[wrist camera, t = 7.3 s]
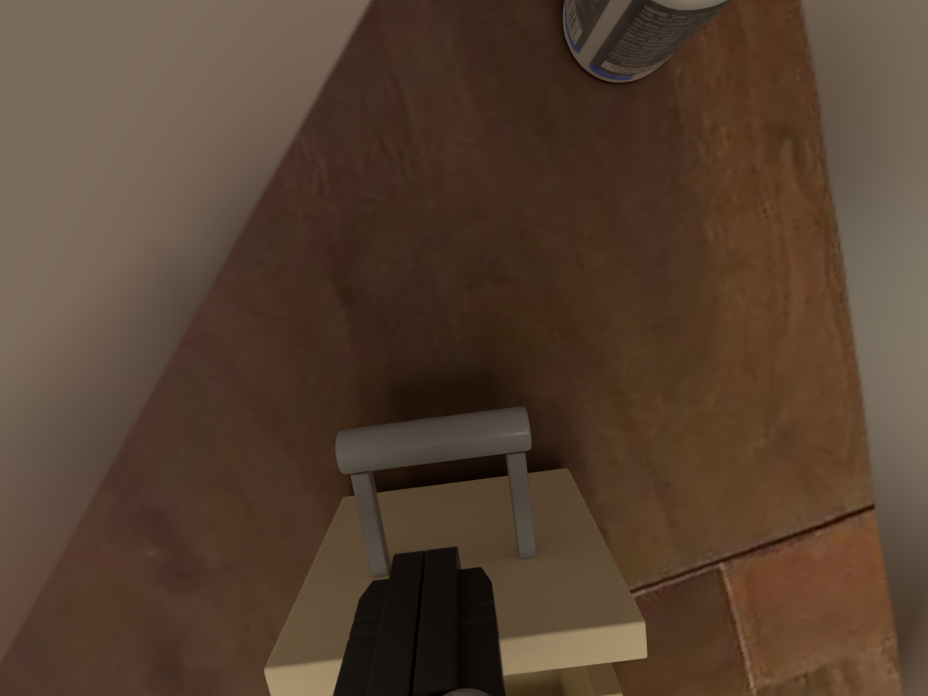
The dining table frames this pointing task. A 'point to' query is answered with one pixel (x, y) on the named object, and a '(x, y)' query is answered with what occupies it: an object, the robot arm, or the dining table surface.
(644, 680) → the dining table surface
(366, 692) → the robot arm
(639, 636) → the drawer
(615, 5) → the pill bottle
